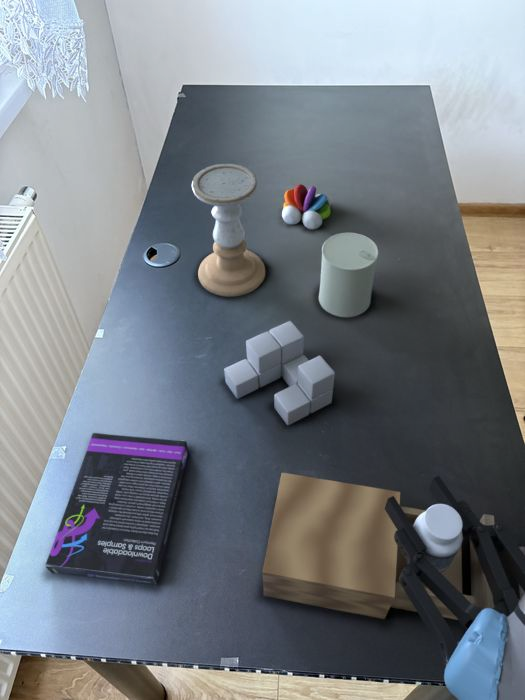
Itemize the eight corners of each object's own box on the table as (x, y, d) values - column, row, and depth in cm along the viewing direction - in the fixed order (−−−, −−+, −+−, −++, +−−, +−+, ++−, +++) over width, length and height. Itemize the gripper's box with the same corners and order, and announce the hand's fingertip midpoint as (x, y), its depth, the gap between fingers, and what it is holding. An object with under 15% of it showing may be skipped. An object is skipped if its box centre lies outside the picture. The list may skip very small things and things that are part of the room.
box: (98, 443, 88) (50, 575, 75) (92, 430, 85) (41, 564, 73) (190, 453, 86) (157, 589, 74) (187, 440, 84) (152, 578, 71)
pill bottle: (456, 574, 68) (475, 544, 61) (410, 578, 68) (425, 548, 61) (443, 530, 71) (461, 496, 64) (400, 533, 71) (413, 500, 64)
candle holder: (279, 277, 109) (279, 183, 94) (225, 309, 104) (215, 215, 89) (238, 244, 115) (232, 150, 100) (185, 272, 111) (170, 178, 95)
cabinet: (390, 521, 79) (400, 491, 72) (384, 620, 71) (395, 597, 64) (281, 502, 81) (281, 472, 74) (263, 597, 73) (262, 572, 66)
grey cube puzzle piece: (225, 383, 94) (221, 351, 88) (289, 352, 98) (290, 320, 92) (264, 439, 87) (263, 409, 81) (331, 404, 91) (335, 372, 85)
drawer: (517, 544, 76) (535, 522, 70) (525, 640, 68) (545, 623, 63) (373, 519, 78) (379, 496, 73) (365, 609, 71) (372, 590, 66)
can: (357, 326, 101) (365, 274, 92) (309, 308, 104) (311, 255, 95) (378, 293, 106) (388, 240, 97) (331, 276, 109) (336, 223, 100)
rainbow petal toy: (291, 200, 124) (291, 169, 118) (335, 210, 121) (338, 180, 116) (276, 224, 119) (276, 193, 113) (322, 235, 116) (324, 205, 111)
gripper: (459, 761, 55) (338, 537, 68) (612, 670, 59) (469, 477, 73) (480, 751, 49) (343, 509, 63) (648, 651, 53) (486, 446, 67)
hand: (411, 492), depth 68 cm, fingers closed on pill bottle, 5 cm apart
